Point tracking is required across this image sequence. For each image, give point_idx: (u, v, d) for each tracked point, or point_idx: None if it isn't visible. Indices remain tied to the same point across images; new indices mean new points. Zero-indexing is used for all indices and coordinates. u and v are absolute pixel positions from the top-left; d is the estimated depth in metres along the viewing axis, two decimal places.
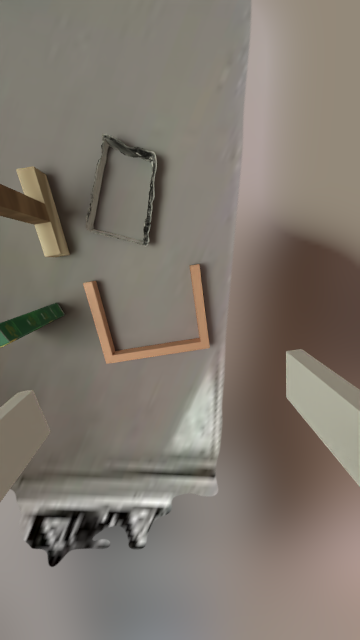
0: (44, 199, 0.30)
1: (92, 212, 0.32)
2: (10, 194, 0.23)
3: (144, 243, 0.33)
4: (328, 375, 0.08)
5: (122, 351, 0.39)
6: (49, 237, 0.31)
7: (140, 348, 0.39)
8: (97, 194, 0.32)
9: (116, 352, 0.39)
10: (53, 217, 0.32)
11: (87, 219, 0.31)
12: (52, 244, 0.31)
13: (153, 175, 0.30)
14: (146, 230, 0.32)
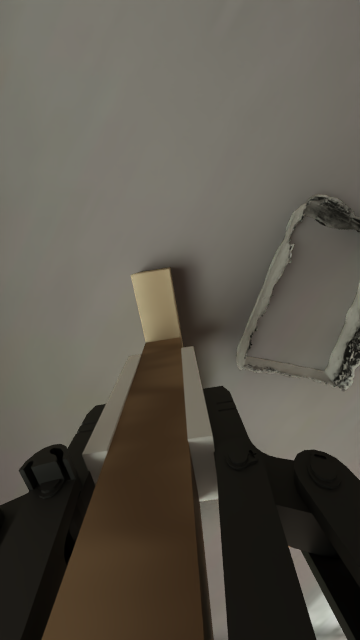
0: (179, 329, 0.14)
1: (248, 334, 0.16)
2: None
3: (338, 383, 0.17)
4: (190, 365, 0.10)
5: None
6: None
7: None
8: (259, 301, 0.16)
9: None
10: None
11: (245, 354, 0.16)
12: None
13: None
14: (351, 365, 0.17)
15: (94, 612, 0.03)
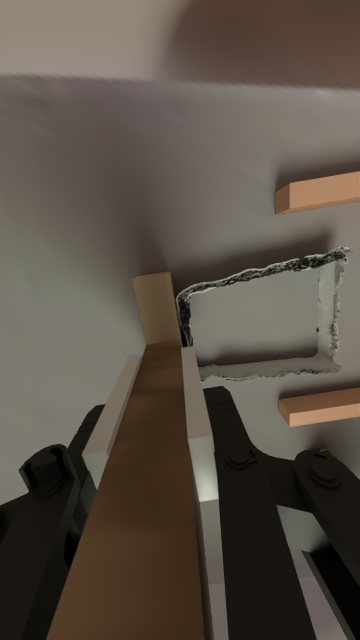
0: (179, 331, 0.14)
1: (301, 366, 0.18)
2: None
3: (341, 256, 0.15)
4: (190, 365, 0.10)
5: None
6: None
7: None
8: (267, 364, 0.18)
9: None
10: None
11: (324, 371, 0.17)
12: None
13: (212, 284, 0.15)
14: (317, 261, 0.15)
15: (101, 596, 0.04)
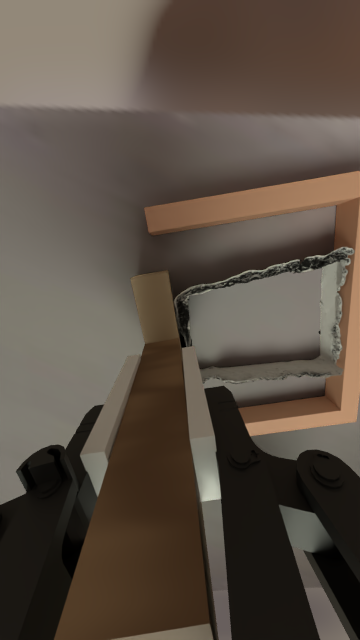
0: (177, 330, 0.15)
1: (302, 368, 0.17)
2: None
3: (343, 256, 0.14)
4: (191, 365, 0.10)
5: (332, 386, 0.19)
6: None
7: None
8: (268, 366, 0.18)
9: (332, 398, 0.19)
10: (181, 351, 0.16)
11: (326, 374, 0.17)
12: None
13: (211, 285, 0.15)
14: (318, 261, 0.14)
15: (109, 587, 0.04)
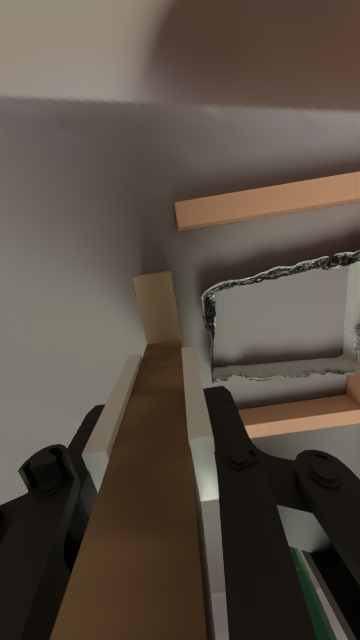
0: (180, 331, 0.14)
1: (325, 366, 0.17)
2: None
3: None
4: (190, 365, 0.10)
5: (354, 384, 0.18)
6: None
7: None
8: (290, 364, 0.18)
9: (355, 397, 0.19)
10: None
11: (350, 372, 0.17)
12: None
13: (239, 282, 0.15)
14: (347, 258, 0.14)
15: (102, 604, 0.03)
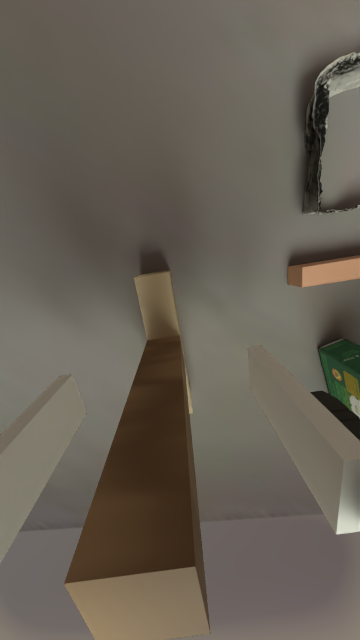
0: (178, 327, 0.15)
1: None
2: (186, 406, 0.09)
3: None
4: (275, 367, 0.09)
5: None
6: None
7: None
8: None
9: None
10: (182, 348, 0.17)
11: None
12: None
13: None
14: None
15: (112, 539, 0.04)
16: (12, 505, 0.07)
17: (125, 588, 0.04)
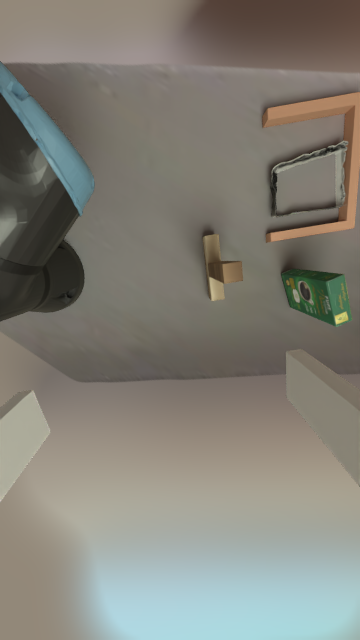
0: (220, 257, 0.37)
1: (327, 208, 0.37)
2: None
3: (344, 146, 0.34)
4: (328, 375, 0.08)
5: (342, 212, 0.37)
6: (218, 286, 0.39)
7: None
8: None
9: (342, 218, 0.38)
10: None
11: (338, 206, 0.36)
12: (219, 291, 0.39)
13: (288, 163, 0.34)
14: (333, 149, 0.34)
15: (227, 263, 0.26)
16: None
17: (230, 266, 0.26)
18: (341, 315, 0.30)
